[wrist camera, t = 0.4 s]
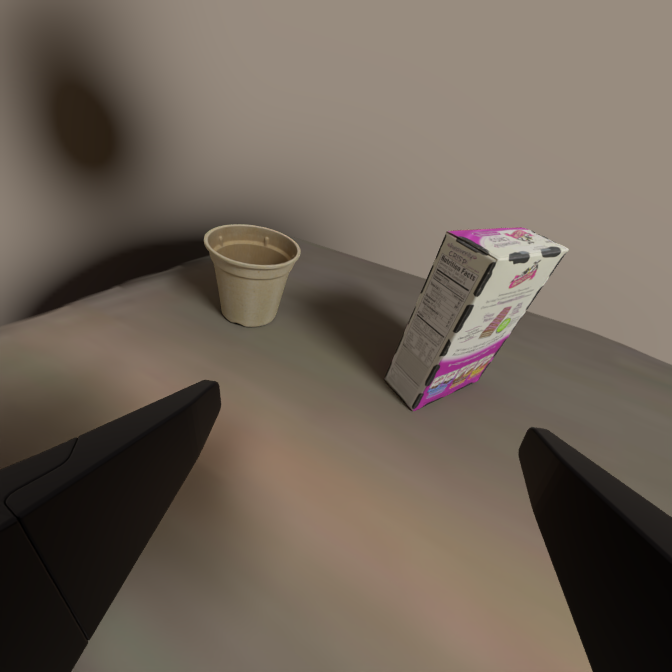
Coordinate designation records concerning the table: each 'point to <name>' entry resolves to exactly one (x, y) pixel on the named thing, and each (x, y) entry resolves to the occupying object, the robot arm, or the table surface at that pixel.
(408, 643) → the table surface
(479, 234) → the candy bar box
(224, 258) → the flower pot
